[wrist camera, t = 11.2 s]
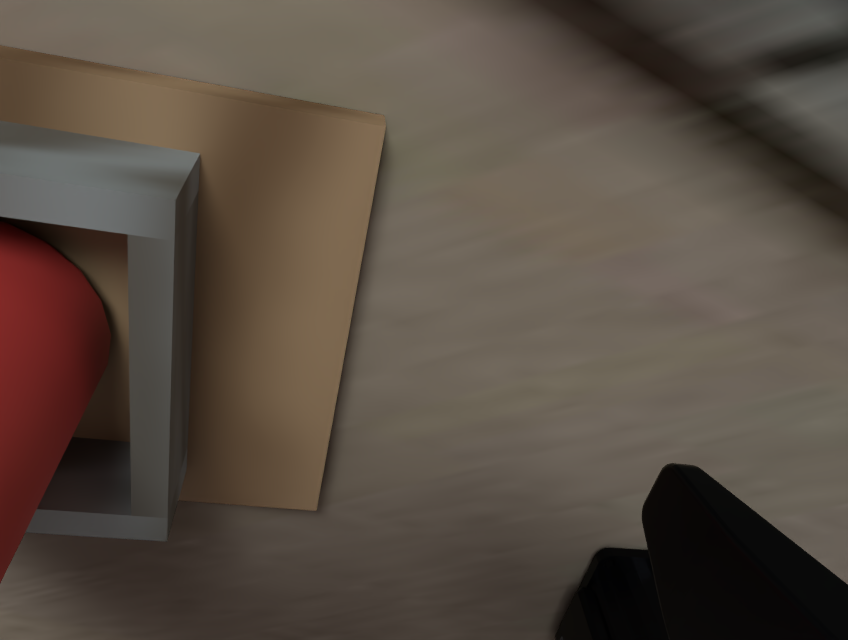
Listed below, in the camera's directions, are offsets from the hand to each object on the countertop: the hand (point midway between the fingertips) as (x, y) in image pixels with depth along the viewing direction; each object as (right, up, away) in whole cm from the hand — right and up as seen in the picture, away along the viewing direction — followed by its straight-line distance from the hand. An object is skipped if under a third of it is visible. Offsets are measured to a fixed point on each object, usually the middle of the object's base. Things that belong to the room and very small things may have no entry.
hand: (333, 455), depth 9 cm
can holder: (-11, +3, +11) cm, 16 cm away
